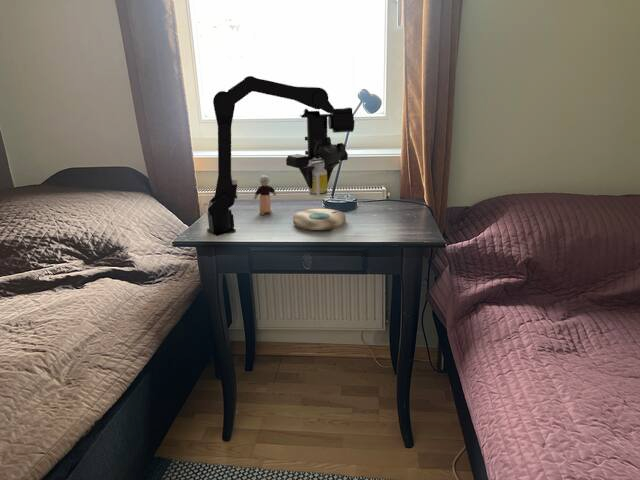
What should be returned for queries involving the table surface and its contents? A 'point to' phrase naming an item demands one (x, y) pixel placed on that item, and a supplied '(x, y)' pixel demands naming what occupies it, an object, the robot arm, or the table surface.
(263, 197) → the grandmother figurine
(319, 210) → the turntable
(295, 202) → the table surface
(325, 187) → the supplement bottle
